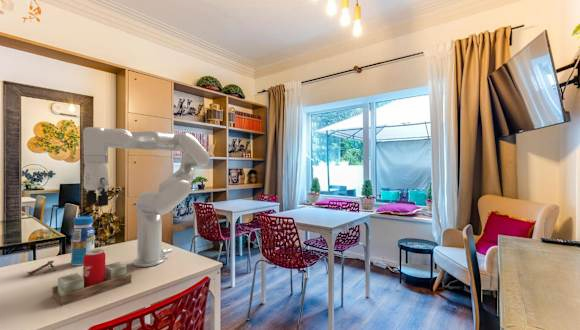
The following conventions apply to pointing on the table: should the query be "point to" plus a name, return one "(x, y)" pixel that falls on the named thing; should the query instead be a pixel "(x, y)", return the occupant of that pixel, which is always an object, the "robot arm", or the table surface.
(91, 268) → the beverage can
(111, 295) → the table surface
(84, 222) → the beverage bottle
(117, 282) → the rail
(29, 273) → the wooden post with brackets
